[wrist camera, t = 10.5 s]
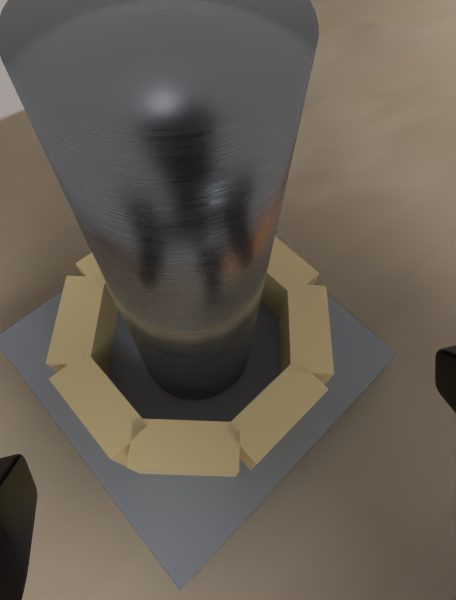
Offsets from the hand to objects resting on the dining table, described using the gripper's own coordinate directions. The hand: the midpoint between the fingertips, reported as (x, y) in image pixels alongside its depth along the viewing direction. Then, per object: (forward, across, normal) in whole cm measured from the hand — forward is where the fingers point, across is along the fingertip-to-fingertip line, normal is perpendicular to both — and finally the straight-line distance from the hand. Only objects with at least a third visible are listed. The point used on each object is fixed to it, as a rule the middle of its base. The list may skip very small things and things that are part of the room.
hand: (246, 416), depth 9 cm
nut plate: (+9, 0, +3) cm, 10 cm away
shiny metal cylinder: (+8, 0, +2) cm, 9 cm away
